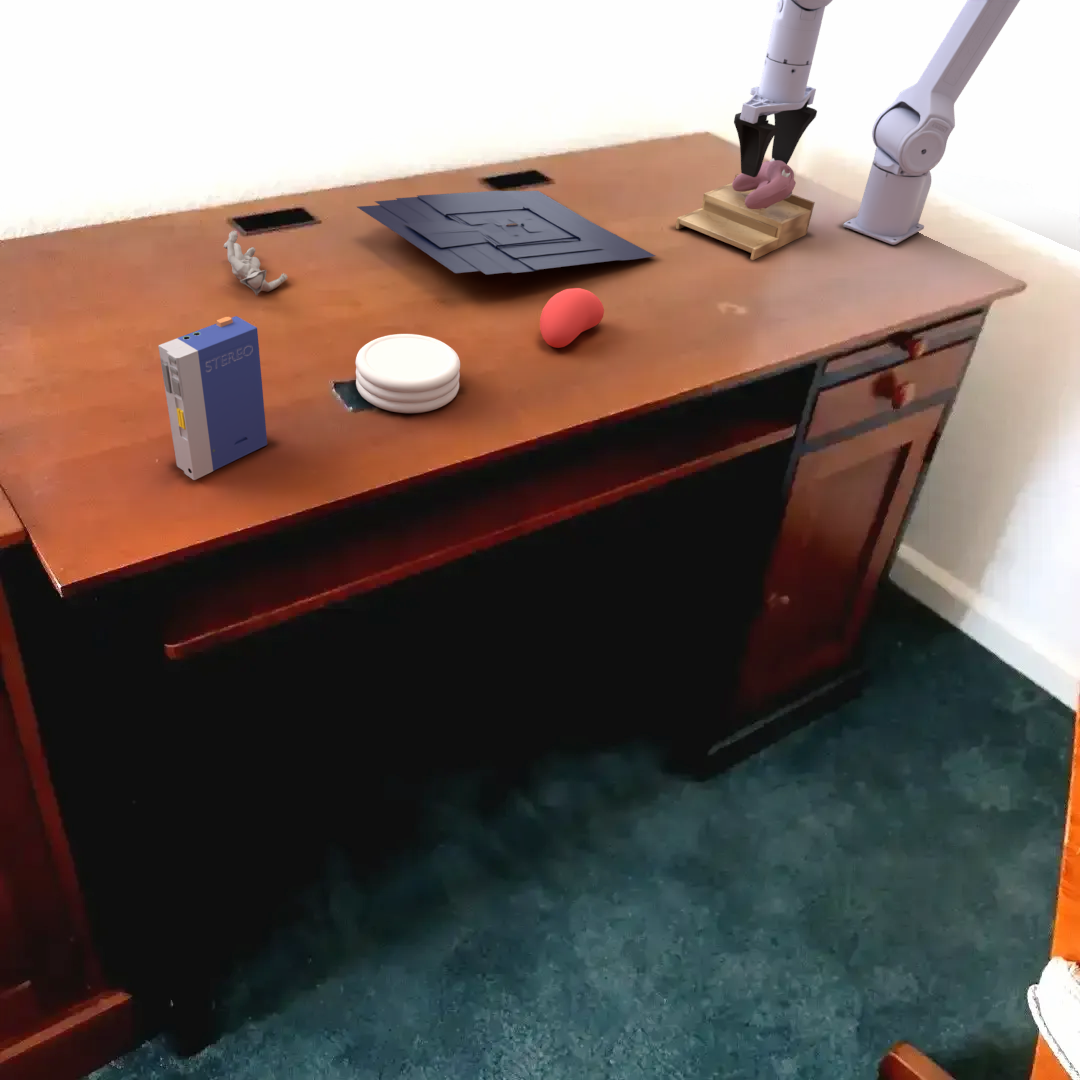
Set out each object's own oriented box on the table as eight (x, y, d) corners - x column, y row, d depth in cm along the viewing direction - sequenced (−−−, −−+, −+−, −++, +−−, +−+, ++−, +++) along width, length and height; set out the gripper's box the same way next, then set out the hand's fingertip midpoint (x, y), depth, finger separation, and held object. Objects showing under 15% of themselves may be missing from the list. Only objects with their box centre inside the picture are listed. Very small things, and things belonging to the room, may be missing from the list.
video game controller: (766, 227, 137) (807, 185, 134) (742, 203, 135) (784, 160, 132) (750, 205, 145) (788, 165, 142) (727, 183, 143) (766, 142, 141)
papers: (346, 223, 130) (348, 193, 128) (532, 209, 148) (537, 183, 146) (461, 303, 116) (466, 272, 114) (652, 277, 134) (659, 249, 132)
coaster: (413, 352, 109) (413, 322, 107) (479, 393, 104) (481, 361, 102) (335, 383, 103) (333, 351, 101) (401, 427, 98) (402, 395, 96)
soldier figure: (276, 265, 124) (306, 277, 114) (251, 299, 124) (279, 313, 114) (221, 221, 120) (248, 229, 110) (195, 255, 120) (220, 266, 110)
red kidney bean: (520, 341, 116) (524, 309, 110) (575, 293, 119) (583, 260, 113) (554, 371, 115) (561, 341, 109) (609, 323, 118) (618, 290, 112)
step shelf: (730, 205, 150) (737, 173, 147) (806, 234, 144) (814, 202, 141) (675, 228, 141) (681, 195, 138) (753, 260, 135) (761, 226, 133)
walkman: (247, 432, 95) (235, 311, 88) (267, 445, 94) (257, 323, 87) (173, 467, 90) (153, 342, 83) (193, 481, 89) (175, 355, 82)
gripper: (791, 42, 137) (767, 148, 145) (729, 58, 128) (708, 170, 136) (839, 56, 134) (812, 164, 142) (779, 74, 125) (754, 187, 133)
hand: (764, 168), depth 139 cm, fingers open, 7 cm apart
